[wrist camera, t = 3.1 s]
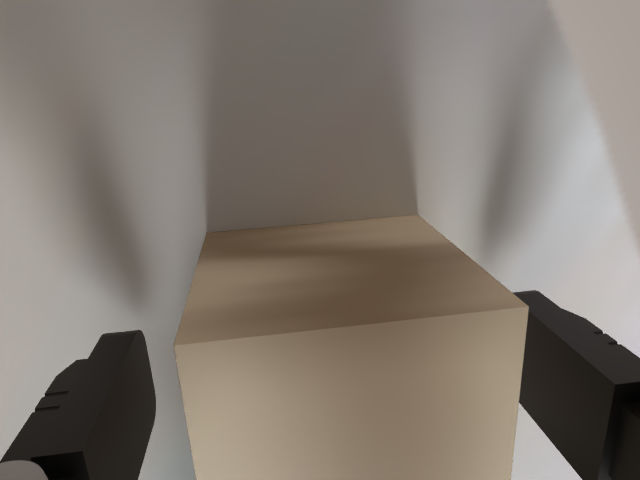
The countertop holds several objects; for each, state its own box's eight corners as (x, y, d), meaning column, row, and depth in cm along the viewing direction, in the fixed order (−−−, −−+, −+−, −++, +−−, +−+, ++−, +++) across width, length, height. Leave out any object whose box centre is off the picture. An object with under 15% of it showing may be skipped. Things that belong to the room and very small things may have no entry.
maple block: (230, 411, 13) (218, 607, 8) (207, 231, 11) (173, 345, 6) (413, 388, 13) (502, 558, 9) (416, 213, 12) (528, 306, 7)
